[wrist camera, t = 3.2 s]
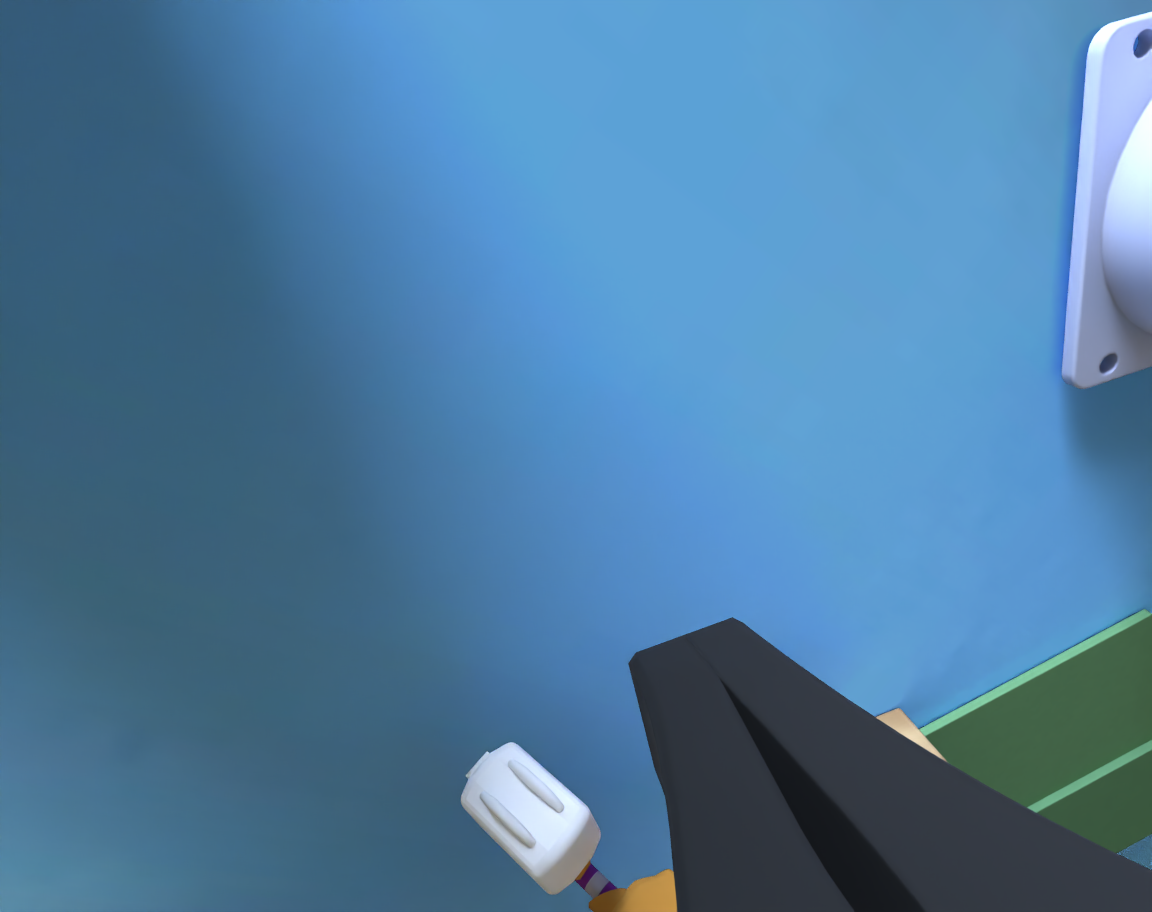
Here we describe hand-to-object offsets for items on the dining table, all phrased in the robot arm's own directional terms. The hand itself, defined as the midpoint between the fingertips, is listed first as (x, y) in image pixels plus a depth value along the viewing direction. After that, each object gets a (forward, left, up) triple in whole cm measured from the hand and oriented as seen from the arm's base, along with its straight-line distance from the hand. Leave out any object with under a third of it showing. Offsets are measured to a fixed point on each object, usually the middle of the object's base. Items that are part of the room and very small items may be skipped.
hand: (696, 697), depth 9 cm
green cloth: (-14, +18, -8) cm, 24 cm away
